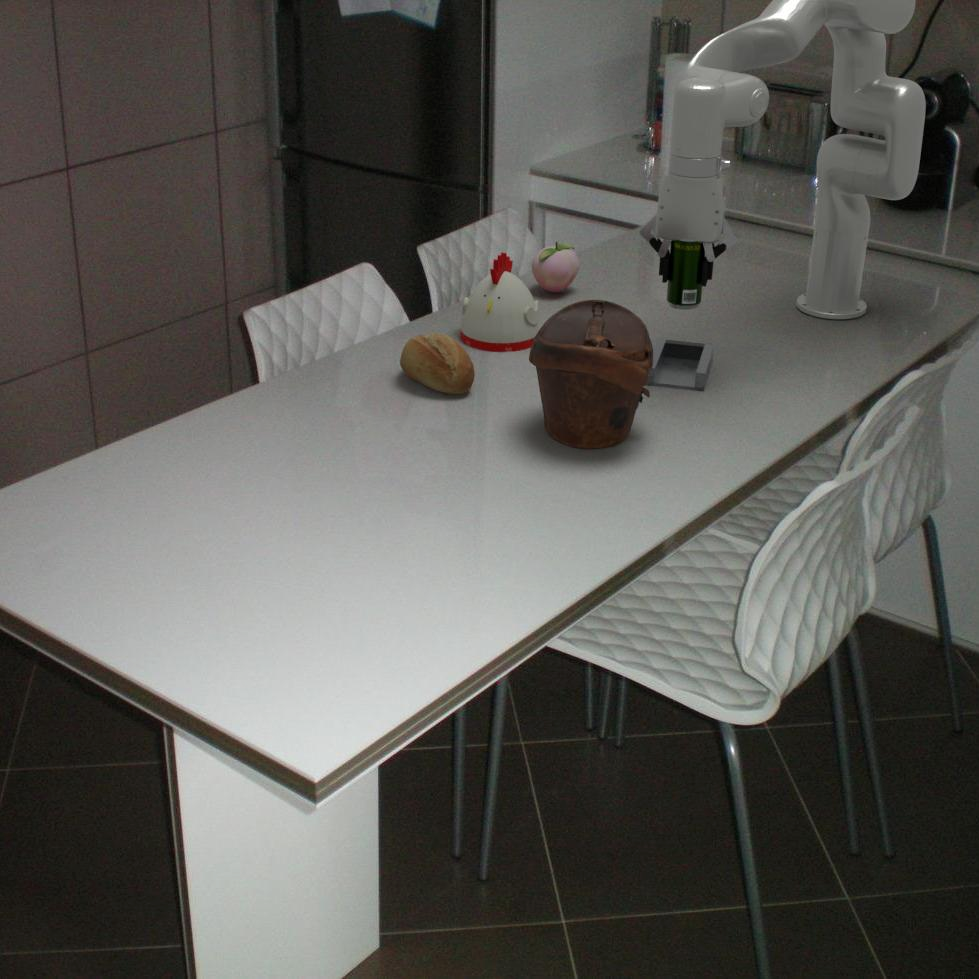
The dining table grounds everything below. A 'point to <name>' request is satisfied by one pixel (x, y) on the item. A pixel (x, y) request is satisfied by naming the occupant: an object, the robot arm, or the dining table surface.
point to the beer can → (685, 274)
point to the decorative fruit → (555, 267)
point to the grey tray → (680, 364)
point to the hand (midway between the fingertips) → (685, 280)
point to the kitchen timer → (500, 312)
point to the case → (591, 372)
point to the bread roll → (438, 363)
